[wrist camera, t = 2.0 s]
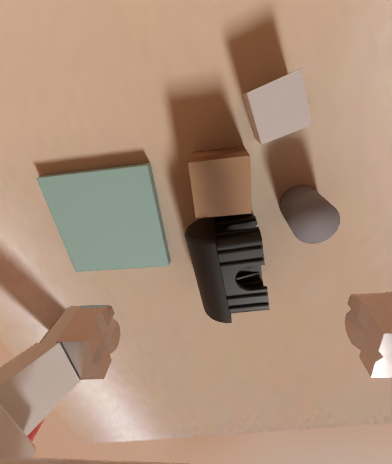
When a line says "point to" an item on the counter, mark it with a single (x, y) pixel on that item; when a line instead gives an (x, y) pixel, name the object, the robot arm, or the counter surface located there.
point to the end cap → (228, 264)
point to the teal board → (108, 217)
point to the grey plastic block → (278, 107)
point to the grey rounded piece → (309, 214)
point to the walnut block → (220, 182)
